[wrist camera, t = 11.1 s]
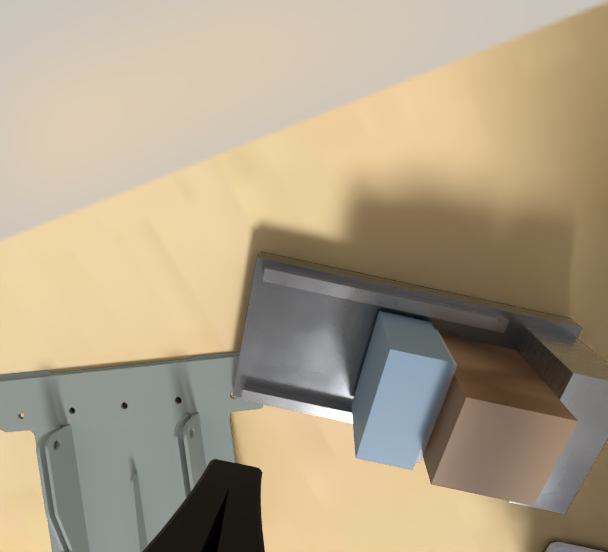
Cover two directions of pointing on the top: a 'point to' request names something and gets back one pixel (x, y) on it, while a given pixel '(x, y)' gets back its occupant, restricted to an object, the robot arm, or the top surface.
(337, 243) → the top surface
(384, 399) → the block
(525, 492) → the block
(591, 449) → the vise
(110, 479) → the metal bracket
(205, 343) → the top surface
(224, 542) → the robot arm
